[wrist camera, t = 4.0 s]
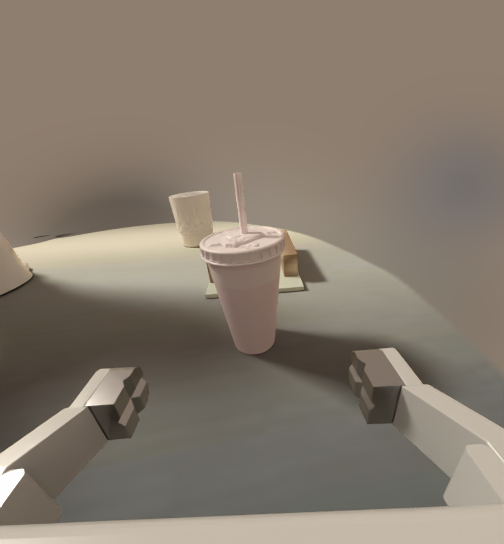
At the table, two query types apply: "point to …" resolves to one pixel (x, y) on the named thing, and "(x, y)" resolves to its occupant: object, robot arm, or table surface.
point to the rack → (283, 259)
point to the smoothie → (246, 277)
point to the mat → (284, 285)
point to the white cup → (192, 216)
